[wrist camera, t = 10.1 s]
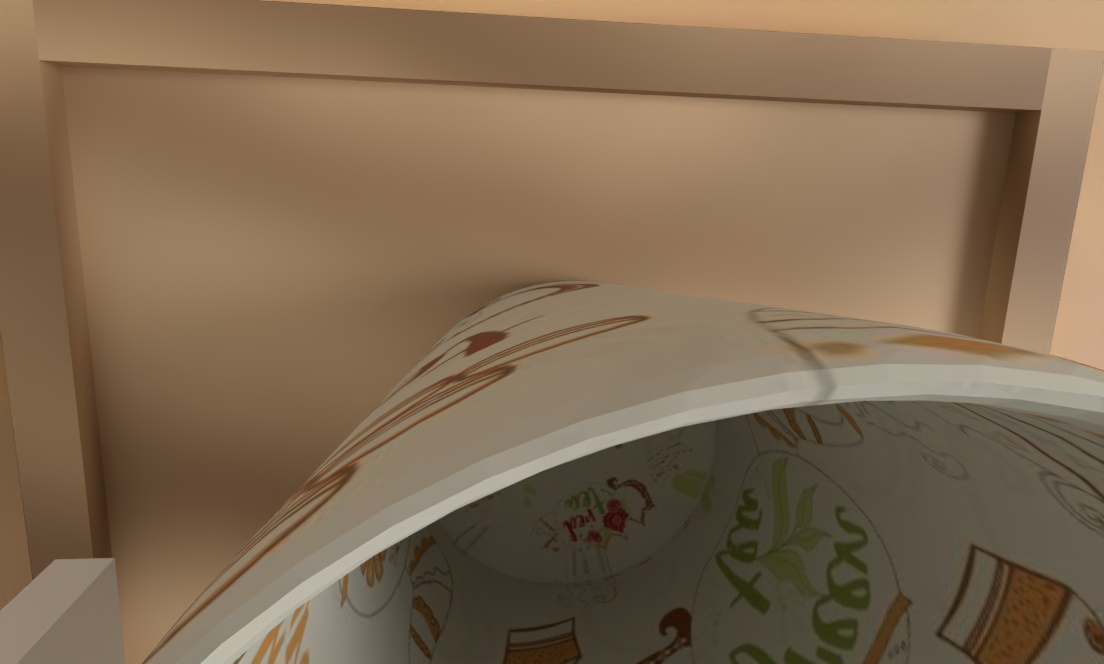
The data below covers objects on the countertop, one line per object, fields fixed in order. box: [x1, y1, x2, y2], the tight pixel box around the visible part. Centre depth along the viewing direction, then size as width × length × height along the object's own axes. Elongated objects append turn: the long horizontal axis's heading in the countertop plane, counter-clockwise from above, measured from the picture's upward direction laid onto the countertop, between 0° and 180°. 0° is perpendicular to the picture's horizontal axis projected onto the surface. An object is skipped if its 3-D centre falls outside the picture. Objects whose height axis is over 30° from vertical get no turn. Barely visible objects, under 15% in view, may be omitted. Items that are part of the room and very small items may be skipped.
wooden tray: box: [0, 0, 1104, 664], centre depth 14 cm, size 18×18×2 cm
